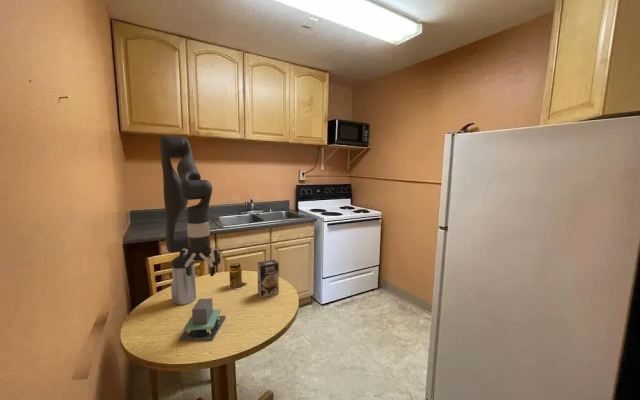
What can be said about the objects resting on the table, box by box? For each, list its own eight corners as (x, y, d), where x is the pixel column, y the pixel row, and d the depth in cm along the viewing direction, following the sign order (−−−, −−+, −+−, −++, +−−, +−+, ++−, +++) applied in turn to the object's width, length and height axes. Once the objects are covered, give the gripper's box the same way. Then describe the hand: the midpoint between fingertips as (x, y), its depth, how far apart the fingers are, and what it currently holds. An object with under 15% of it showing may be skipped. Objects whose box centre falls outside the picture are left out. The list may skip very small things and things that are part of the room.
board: (183, 330, 96) (182, 313, 95) (195, 312, 107) (194, 296, 106) (212, 328, 97) (211, 311, 96) (220, 310, 109) (219, 295, 108)
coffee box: (261, 298, 126) (260, 266, 124) (257, 292, 131) (256, 261, 129) (279, 294, 130) (278, 263, 128) (275, 288, 136) (274, 258, 133)
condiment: (226, 287, 137) (225, 265, 135) (237, 281, 144) (236, 260, 143) (237, 290, 134) (236, 267, 132) (248, 283, 142) (247, 262, 140)
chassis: (179, 340, 95) (178, 331, 95) (196, 318, 109) (196, 310, 109) (212, 340, 96) (212, 331, 95) (225, 318, 110) (225, 310, 109)
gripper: (174, 236, 94) (177, 279, 96) (214, 236, 94) (216, 279, 96) (184, 231, 101) (187, 271, 103) (221, 231, 101) (223, 271, 103)
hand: (201, 275), depth 100 cm, fingers open, 8 cm apart
